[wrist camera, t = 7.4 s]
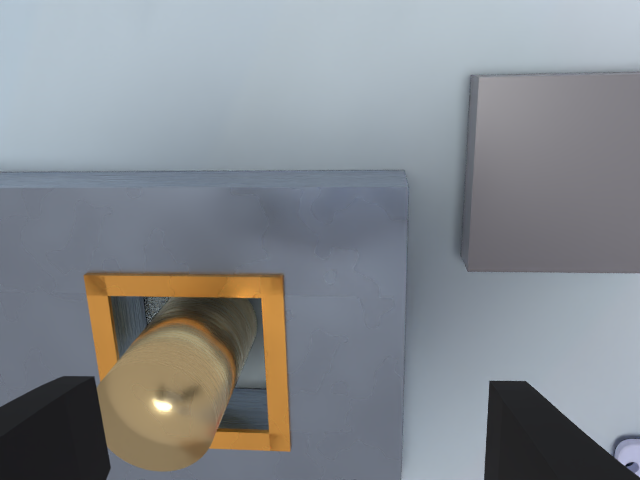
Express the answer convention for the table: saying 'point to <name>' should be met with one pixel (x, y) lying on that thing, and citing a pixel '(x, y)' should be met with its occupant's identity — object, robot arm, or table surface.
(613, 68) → the table surface
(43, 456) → the robot arm
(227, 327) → the brass peg
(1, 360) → the plate
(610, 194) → the gray square block
